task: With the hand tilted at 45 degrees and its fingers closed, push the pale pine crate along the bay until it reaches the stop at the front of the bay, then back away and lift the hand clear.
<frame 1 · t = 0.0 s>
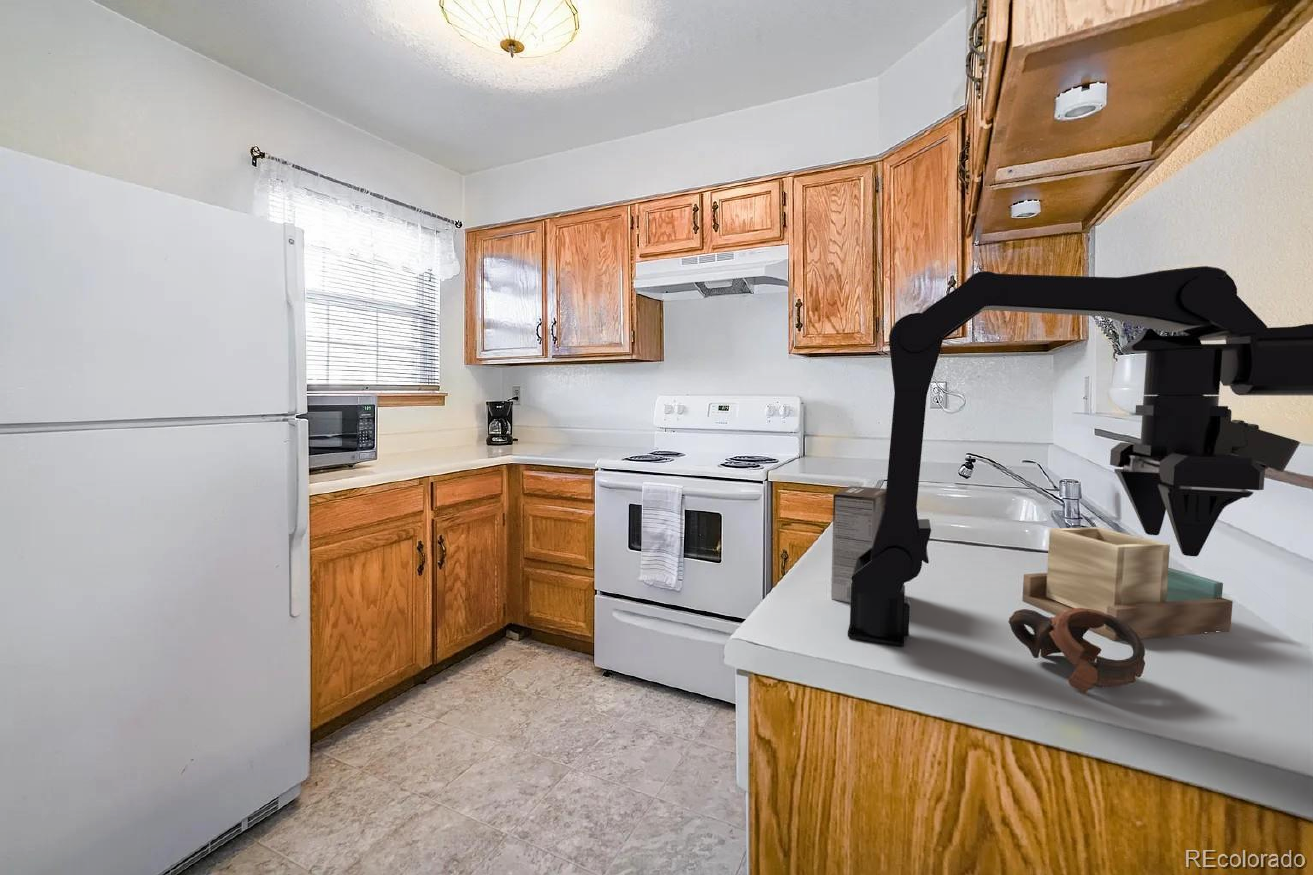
hand: (1169, 544, 59), 15 cm above the counter, tool pointing down, fingers open, 9 cm apart
coffee box: (859, 596, 85), on the counter
bay: (1113, 615, 78), on the counter
crate: (1104, 572, 77), point 6 cm above the counter, slide at 0.0 cm
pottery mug: (1070, 674, 62), on the counter
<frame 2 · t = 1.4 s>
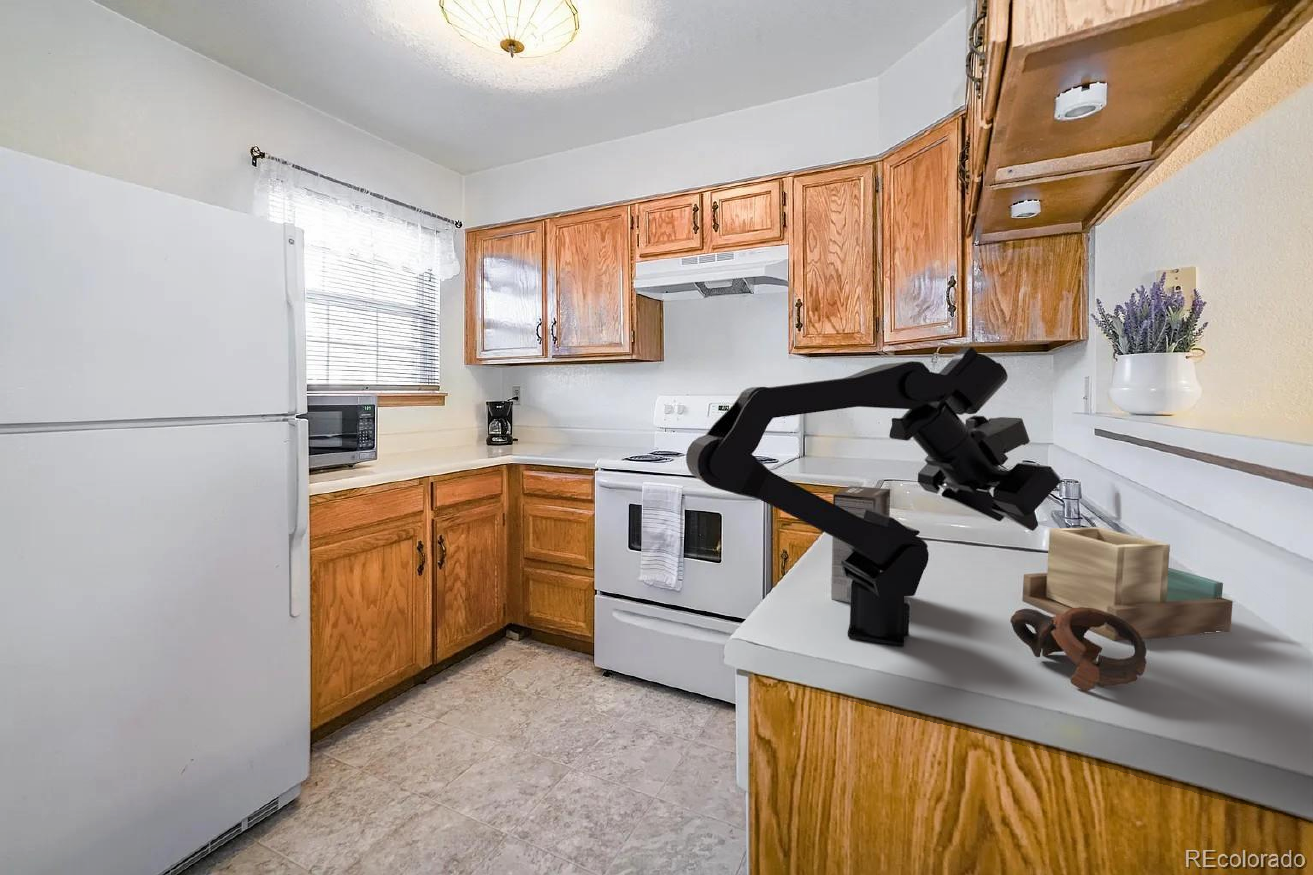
hand: (1017, 523, 74), 14 cm above the counter, tool tilted 45°, fingers open, 5 cm apart
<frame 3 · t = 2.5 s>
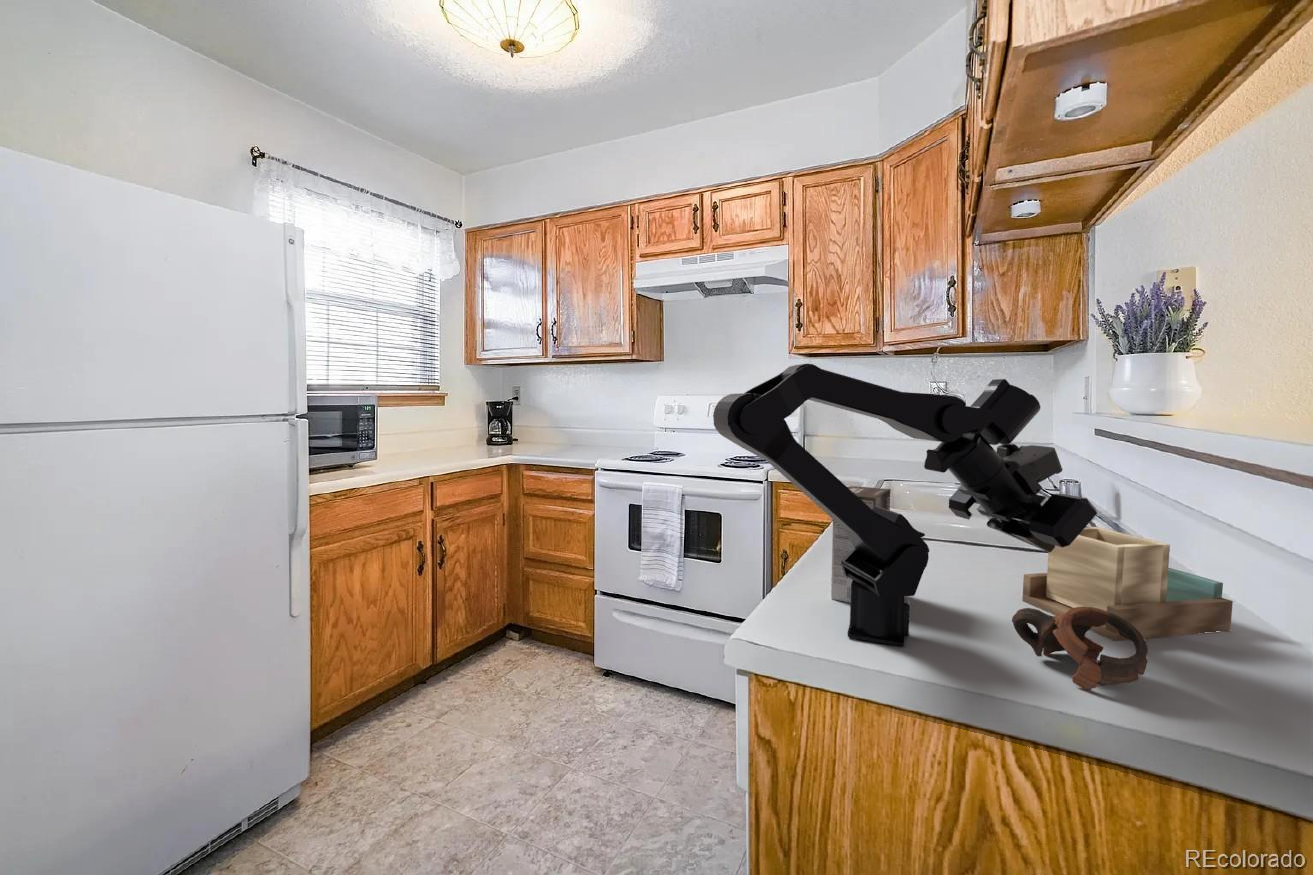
hand: (1050, 549, 75), 10 cm above the counter, tool tilted 45°, fingers closed
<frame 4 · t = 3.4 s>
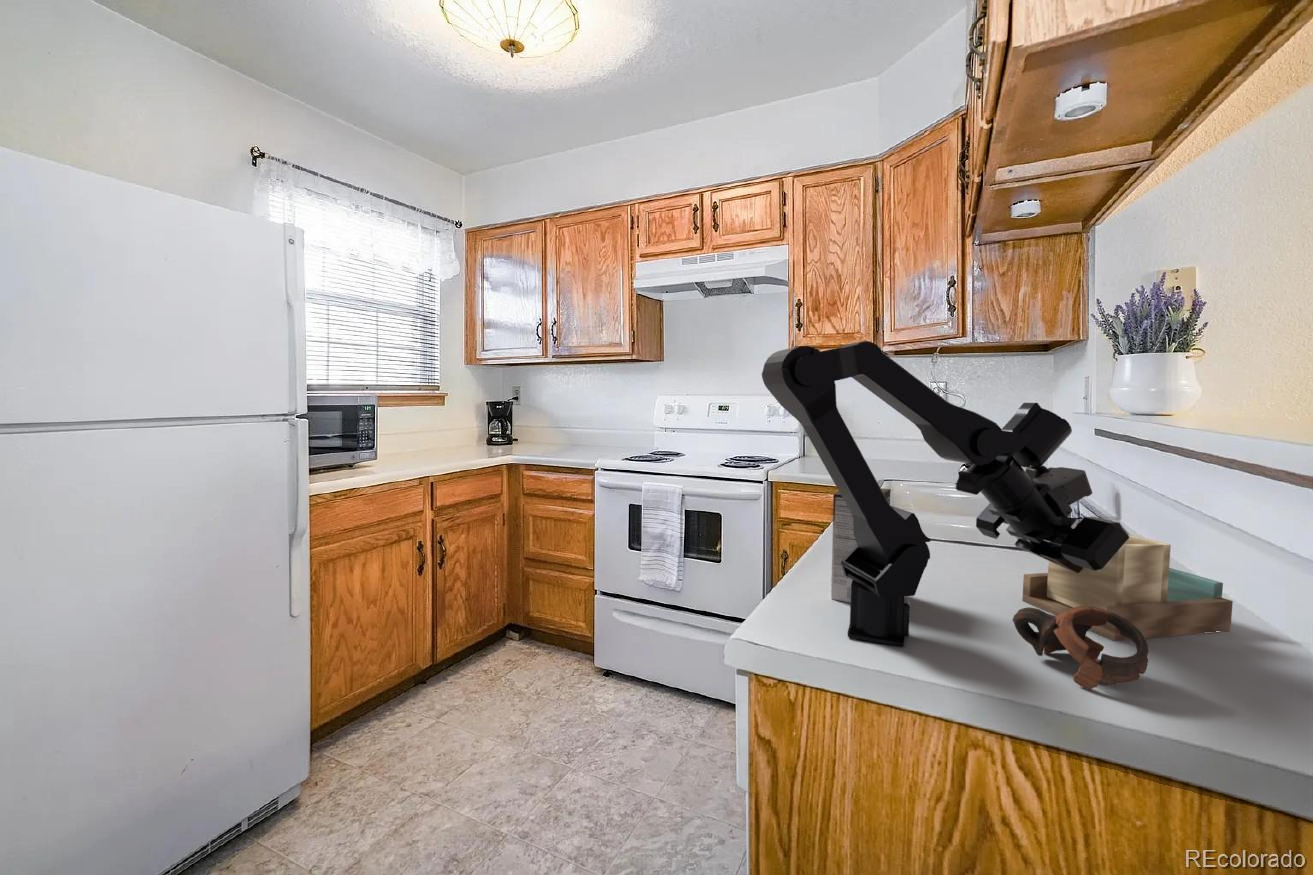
hand: (1078, 569, 76), 7 cm above the counter, tool tilted 45°, fingers closed, pressing on crate
crate: (1105, 572, 77), point 6 cm above the counter, slide at 0.1 cm, touching gripper
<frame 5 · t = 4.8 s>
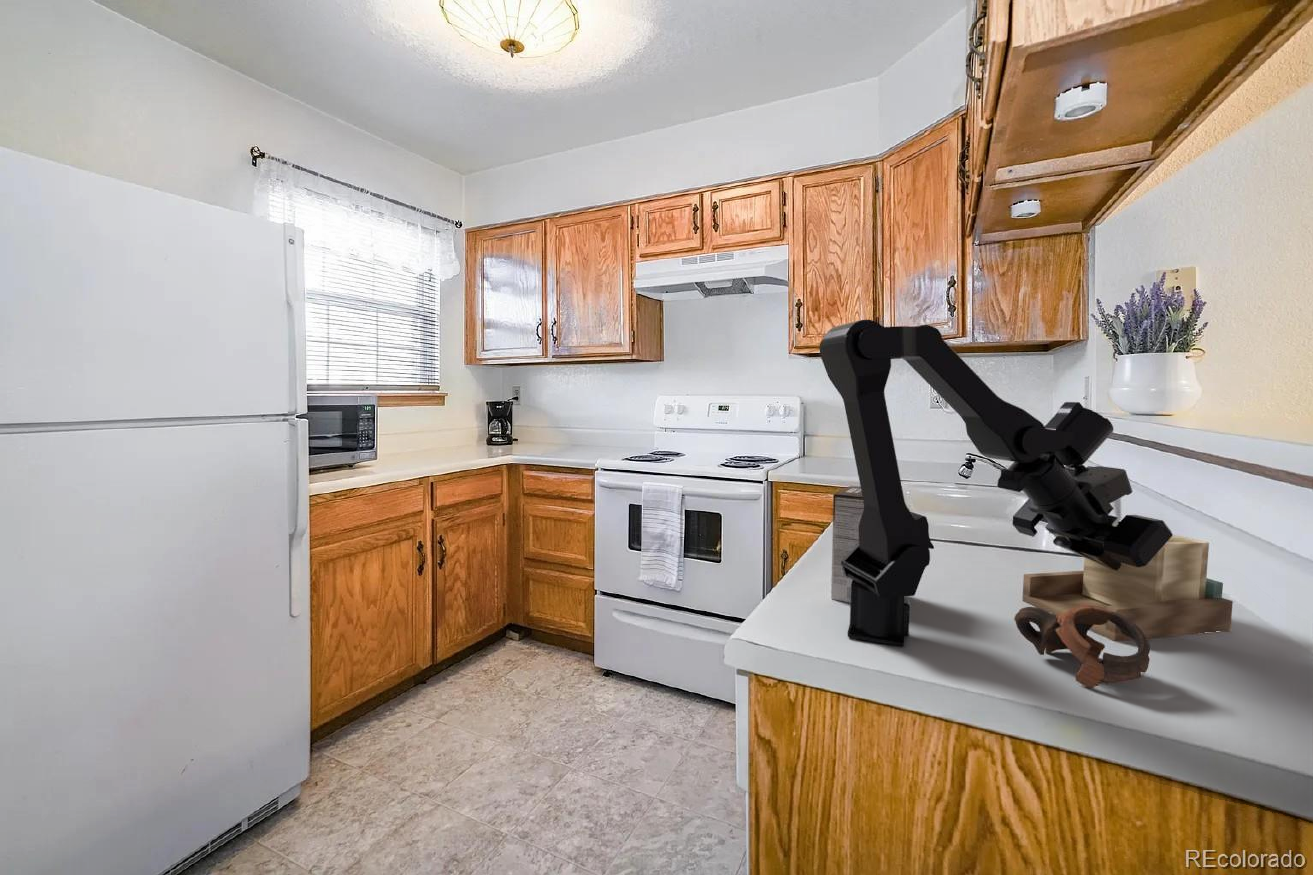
hand: (1116, 567, 77), 7 cm above the counter, tool tilted 45°, fingers closed, pressing on crate
crate: (1141, 569, 78), point 6 cm above the counter, slide at 6.2 cm, touching gripper
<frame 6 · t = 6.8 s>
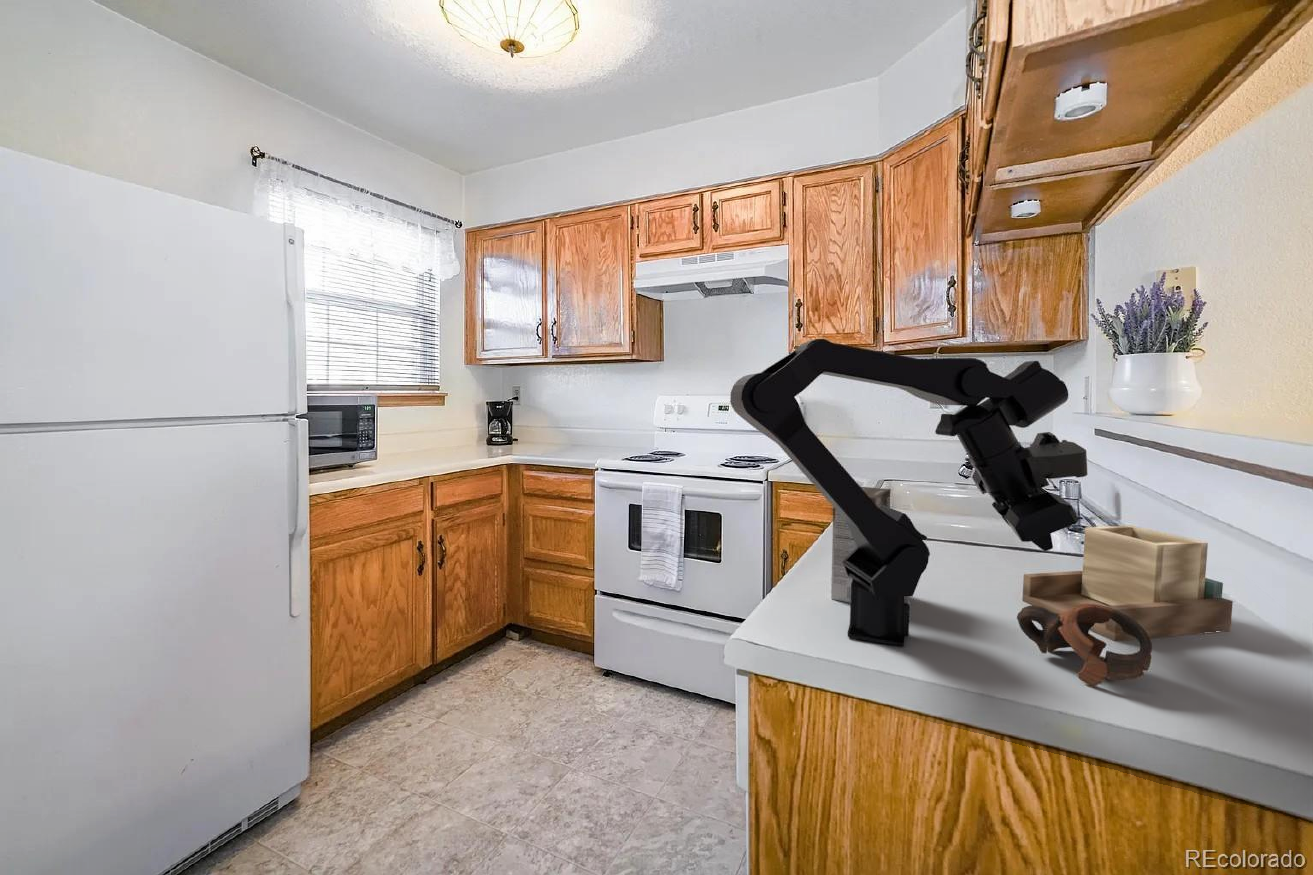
hand: (1047, 548, 73), 11 cm above the counter, tool tilted 30°, fingers closed
crate: (1140, 569, 78), point 6 cm above the counter, slide at 6.0 cm
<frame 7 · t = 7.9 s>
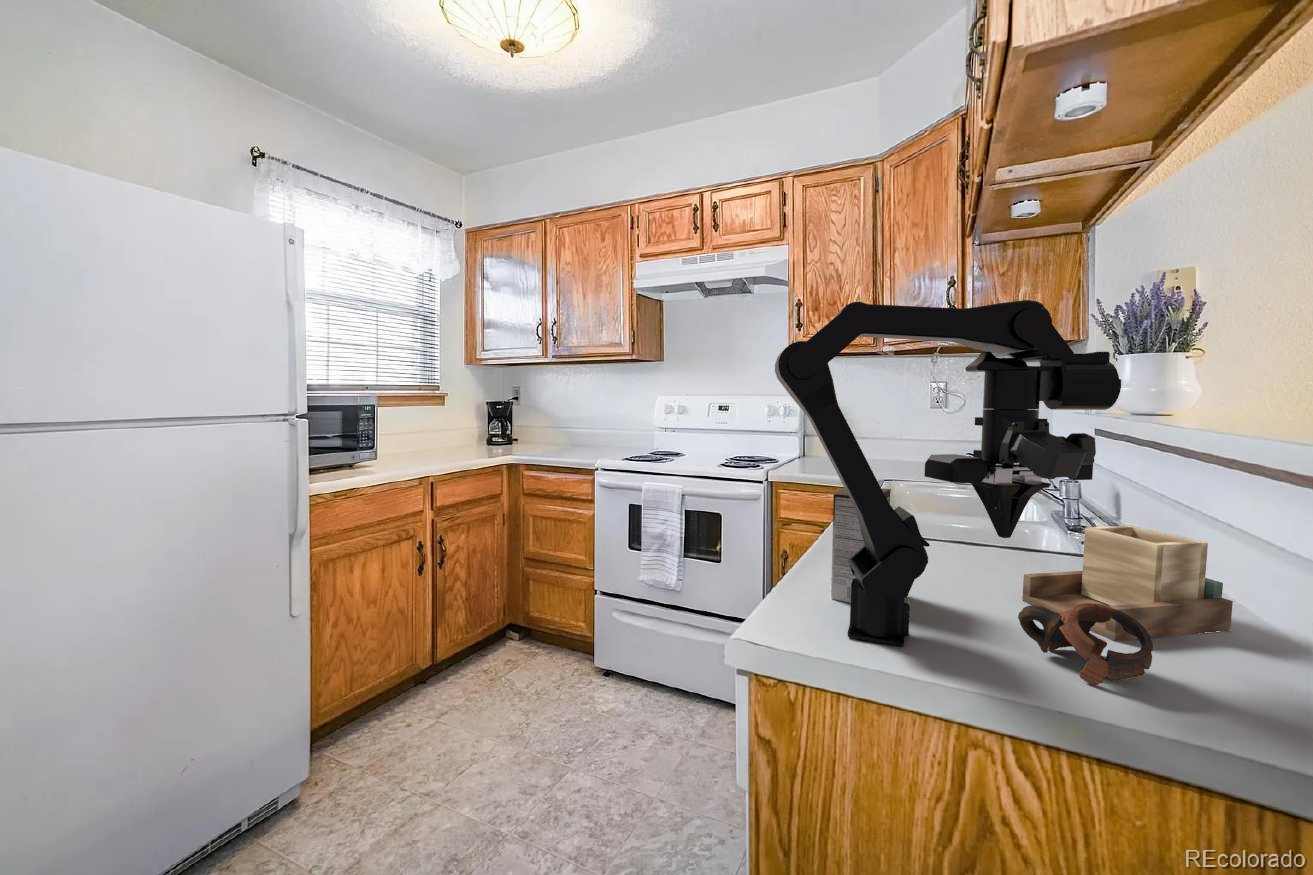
hand: (1004, 537, 68), 13 cm above the counter, tool pointing down, fingers closed
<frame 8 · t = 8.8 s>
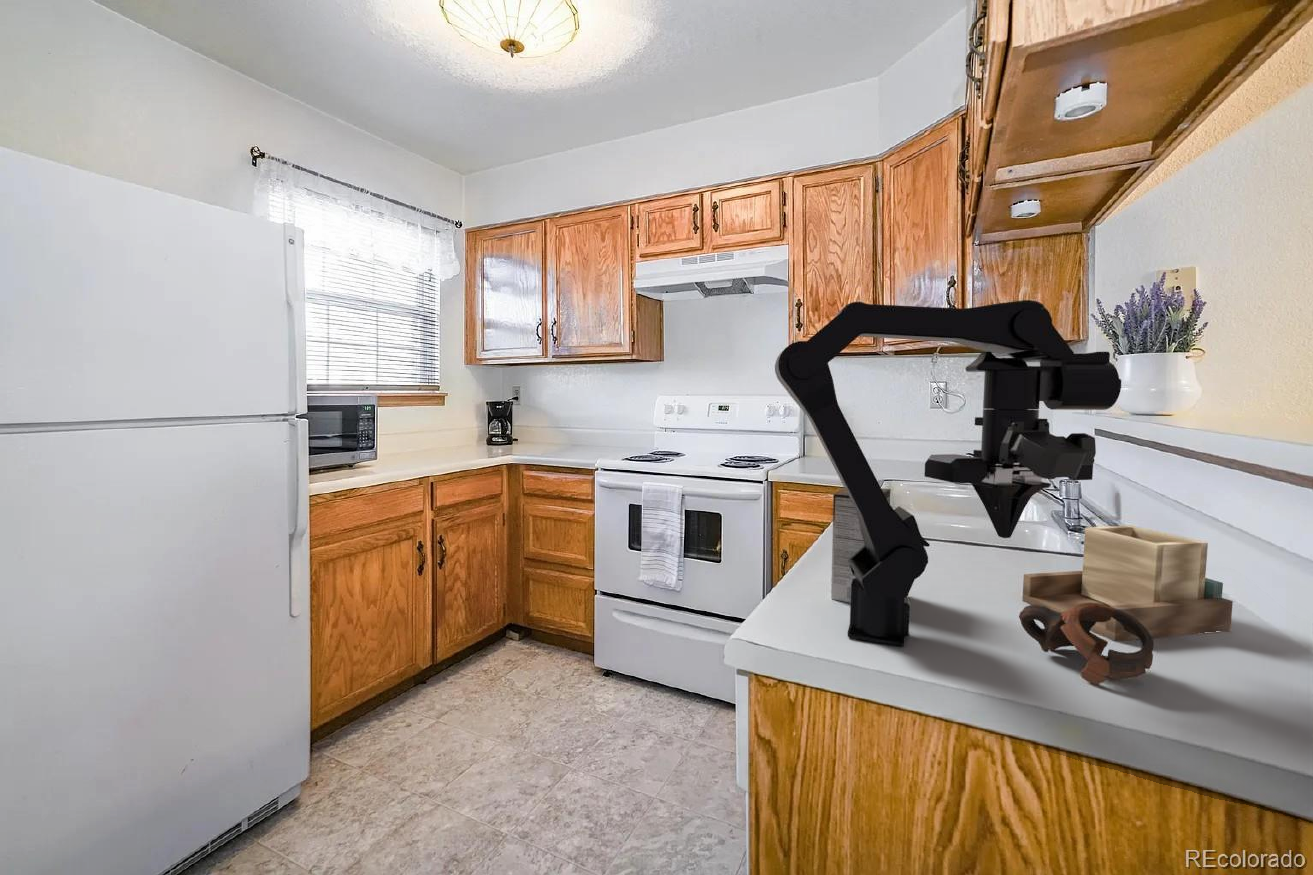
hand: (1004, 537, 68), 13 cm above the counter, tool pointing down, fingers closed
at the end: crate slide at 6.0 cm; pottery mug moved 3.0 cm from its start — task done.
